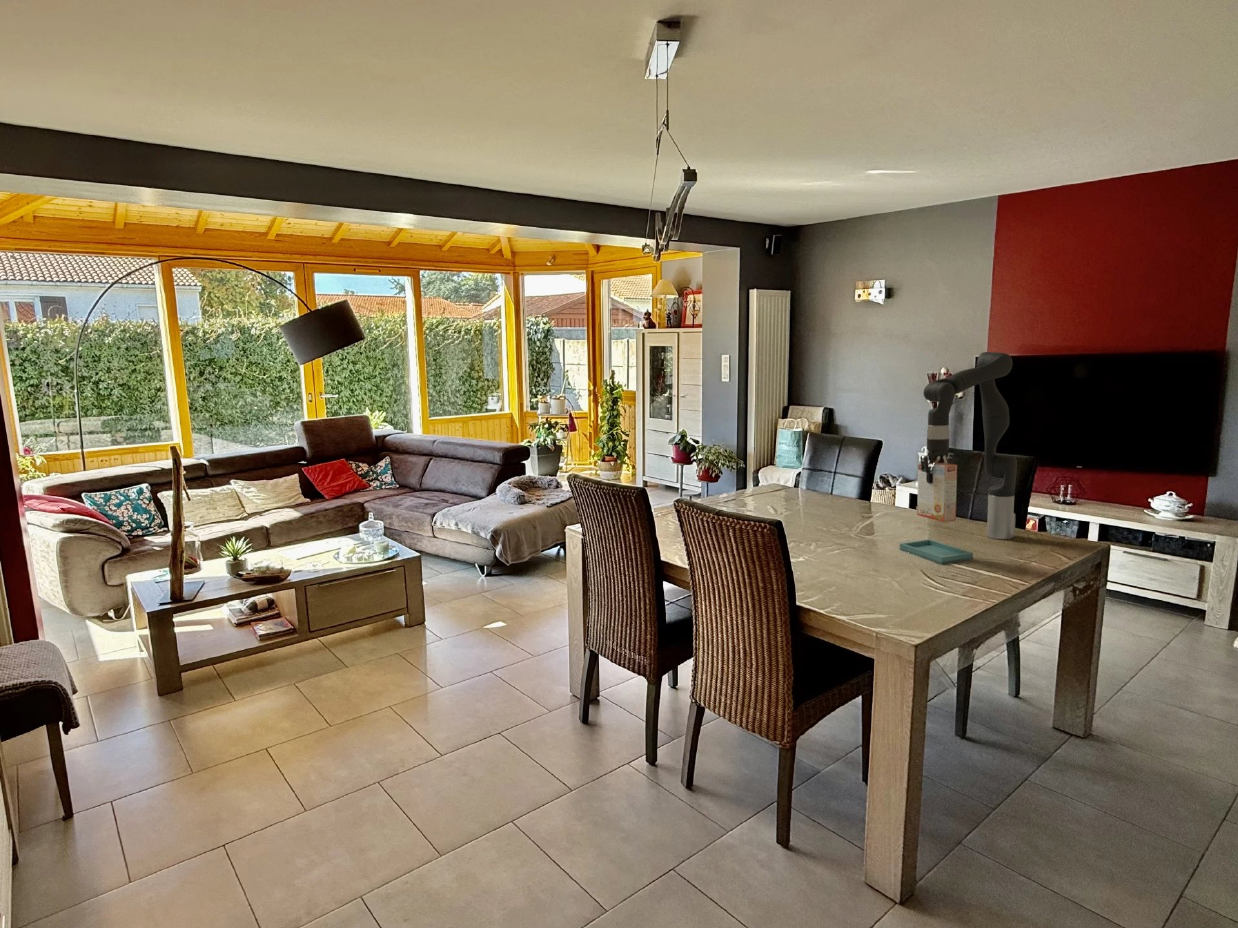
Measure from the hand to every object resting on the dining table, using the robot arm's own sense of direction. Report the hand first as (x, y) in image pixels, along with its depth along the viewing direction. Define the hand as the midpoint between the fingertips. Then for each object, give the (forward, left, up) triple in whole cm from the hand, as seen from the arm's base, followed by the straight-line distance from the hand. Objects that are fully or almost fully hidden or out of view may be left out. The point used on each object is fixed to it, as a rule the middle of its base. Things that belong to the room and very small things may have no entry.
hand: (937, 482), depth 271 cm
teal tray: (0, 0, -27) cm, 27 cm away
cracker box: (0, 0, -14) cm, 14 cm away
